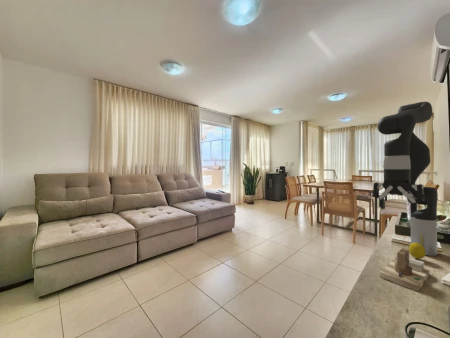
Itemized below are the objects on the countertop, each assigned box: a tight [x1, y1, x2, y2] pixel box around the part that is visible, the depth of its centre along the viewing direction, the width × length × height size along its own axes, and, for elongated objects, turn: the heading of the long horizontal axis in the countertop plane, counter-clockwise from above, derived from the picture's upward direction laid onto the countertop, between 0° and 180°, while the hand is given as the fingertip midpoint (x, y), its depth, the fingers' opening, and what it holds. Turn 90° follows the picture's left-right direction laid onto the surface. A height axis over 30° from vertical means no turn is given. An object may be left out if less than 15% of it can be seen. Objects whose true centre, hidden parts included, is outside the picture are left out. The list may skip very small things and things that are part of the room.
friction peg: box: [395, 247, 412, 276], centre depth 75 cm, size 8×5×8 cm, turn 124°
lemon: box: [408, 242, 426, 260], centre depth 89 cm, size 6×6×8 cm
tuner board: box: [379, 256, 431, 292], centre depth 77 cm, size 18×11×4 cm, turn 124°
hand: (397, 210), depth 72 cm, fingers open, 8 cm apart
